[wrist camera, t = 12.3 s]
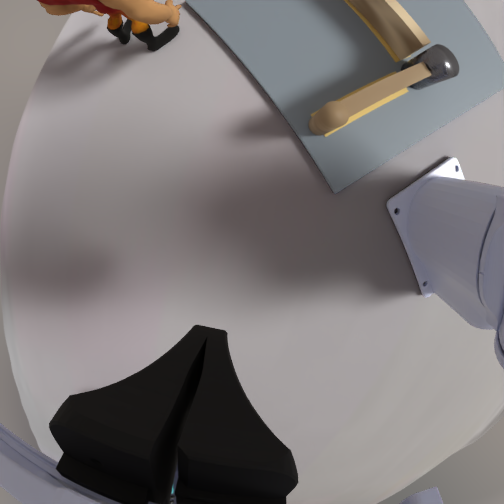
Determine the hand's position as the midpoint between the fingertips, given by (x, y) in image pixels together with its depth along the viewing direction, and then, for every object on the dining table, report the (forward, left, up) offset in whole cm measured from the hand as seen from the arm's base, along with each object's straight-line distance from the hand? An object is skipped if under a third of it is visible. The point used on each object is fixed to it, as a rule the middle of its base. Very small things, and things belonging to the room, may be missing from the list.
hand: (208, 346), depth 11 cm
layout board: (+10, -22, -9) cm, 26 cm away
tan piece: (+13, -20, -9) cm, 25 cm away
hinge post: (+5, -20, -9) cm, 23 cm away
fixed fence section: (+5, -14, -9) cm, 17 cm away
